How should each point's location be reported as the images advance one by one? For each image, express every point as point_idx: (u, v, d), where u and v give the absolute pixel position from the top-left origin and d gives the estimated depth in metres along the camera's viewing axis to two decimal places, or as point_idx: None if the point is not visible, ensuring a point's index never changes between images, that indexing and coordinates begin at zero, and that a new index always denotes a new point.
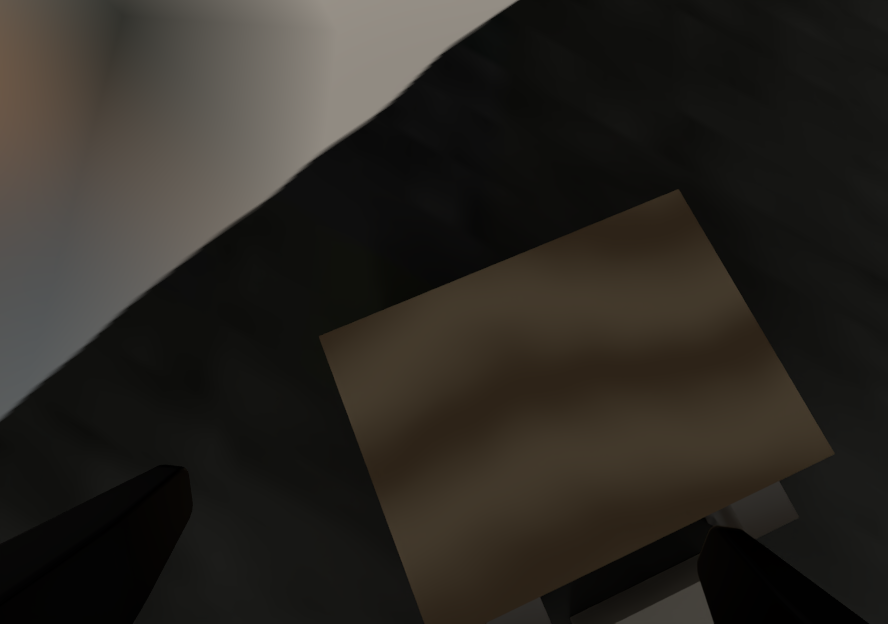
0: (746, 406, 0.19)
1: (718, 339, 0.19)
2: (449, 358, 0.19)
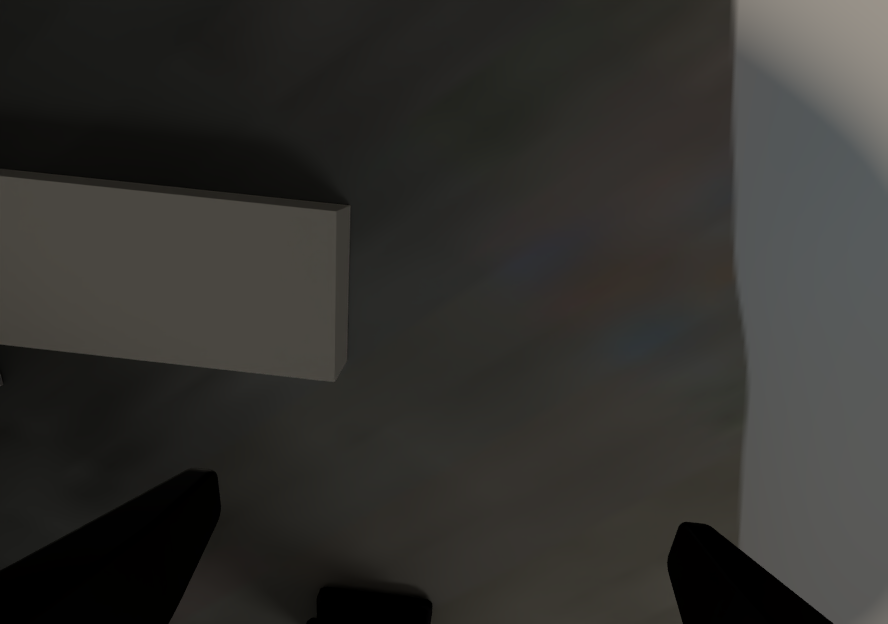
0: None
1: None
2: None
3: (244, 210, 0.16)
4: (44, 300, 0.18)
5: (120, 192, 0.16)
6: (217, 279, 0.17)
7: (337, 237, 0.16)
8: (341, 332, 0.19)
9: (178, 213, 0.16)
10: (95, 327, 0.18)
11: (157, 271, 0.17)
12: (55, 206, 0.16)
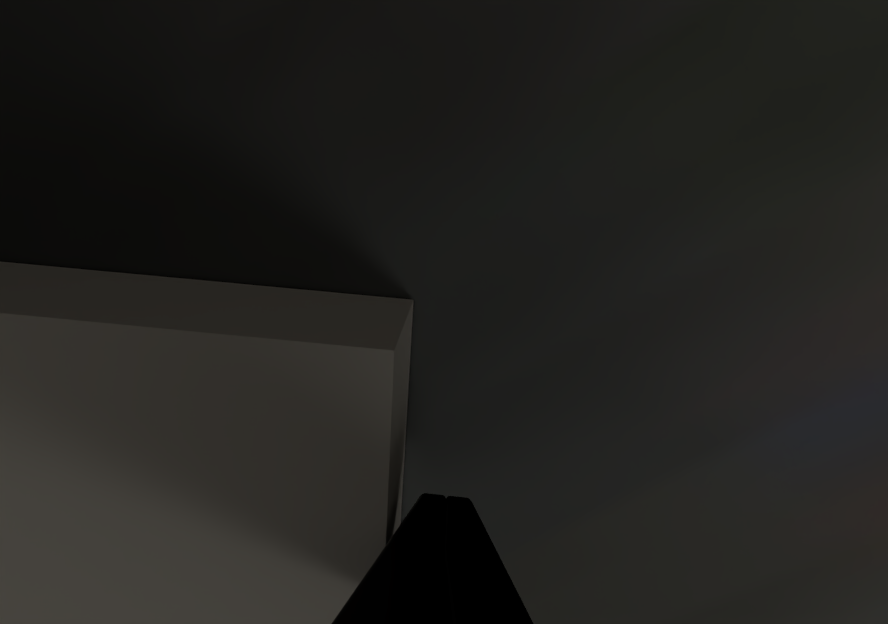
0: None
1: None
2: None
3: (130, 347, 0.06)
4: None
5: None
6: (81, 506, 0.07)
7: (393, 410, 0.06)
8: None
9: None
10: None
11: None
12: None
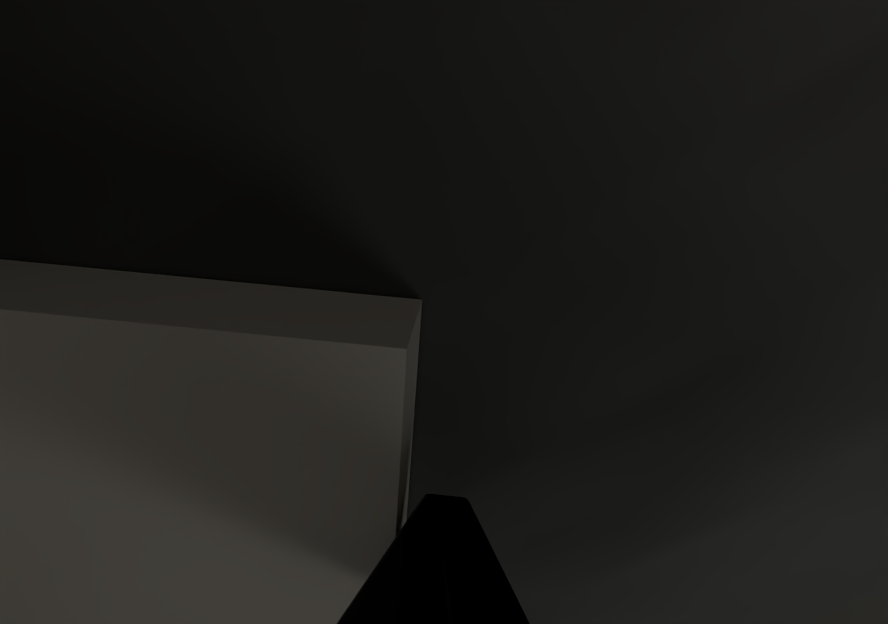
0: None
1: None
2: None
3: (146, 345, 0.06)
4: None
5: None
6: (93, 503, 0.07)
7: (404, 408, 0.06)
8: None
9: None
10: None
11: None
12: None
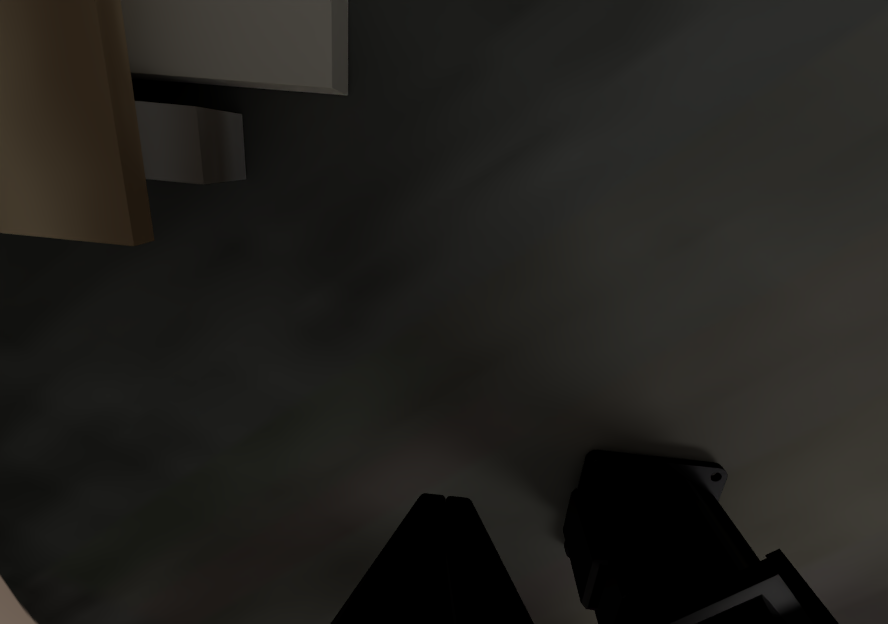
0: None
1: None
2: None
3: None
4: None
5: None
6: None
7: None
8: (339, 31, 0.15)
9: None
10: None
11: None
12: None
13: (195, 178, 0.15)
